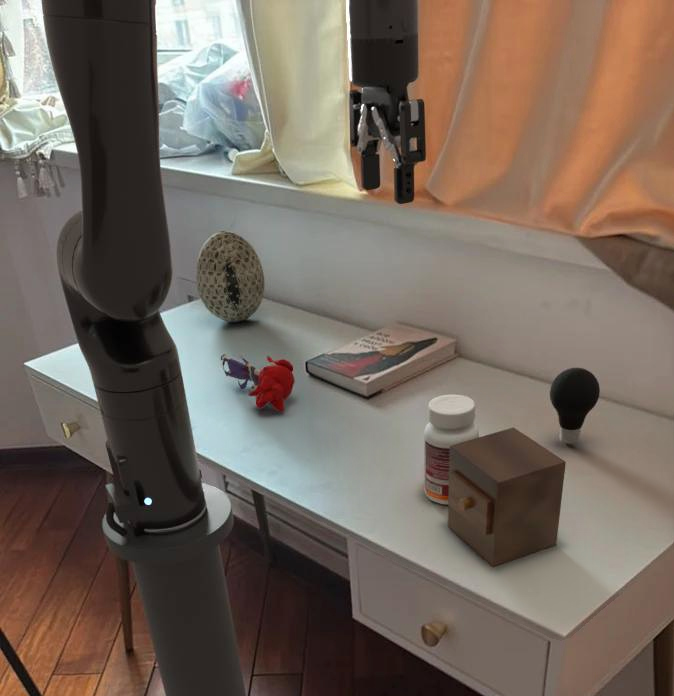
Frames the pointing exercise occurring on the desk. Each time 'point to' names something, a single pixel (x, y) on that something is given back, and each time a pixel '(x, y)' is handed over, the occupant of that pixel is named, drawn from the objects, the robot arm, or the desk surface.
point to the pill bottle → (445, 440)
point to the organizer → (505, 495)
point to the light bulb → (573, 400)
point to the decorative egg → (230, 277)
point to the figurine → (264, 380)
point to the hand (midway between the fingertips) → (387, 195)
